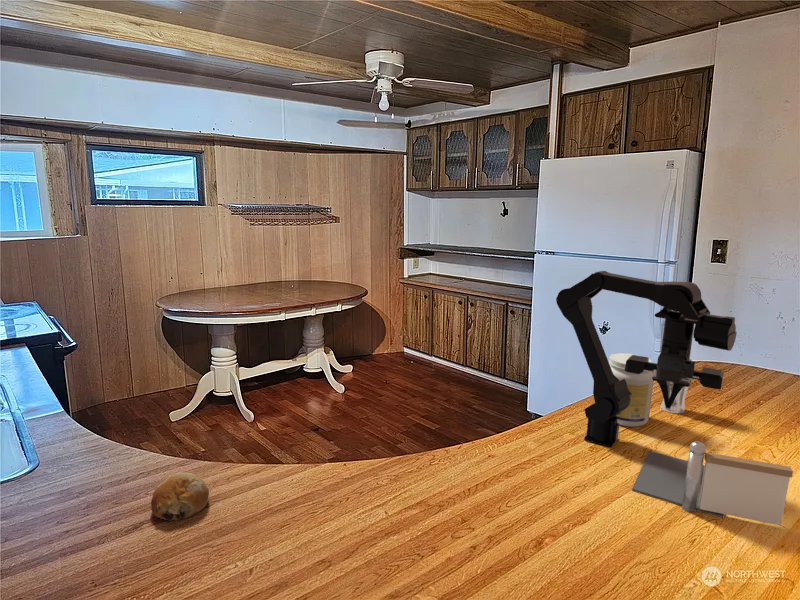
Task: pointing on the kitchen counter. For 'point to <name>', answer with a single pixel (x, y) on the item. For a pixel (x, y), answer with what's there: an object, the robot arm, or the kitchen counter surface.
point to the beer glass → (676, 401)
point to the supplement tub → (633, 391)
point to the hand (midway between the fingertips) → (668, 407)
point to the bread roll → (179, 496)
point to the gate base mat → (666, 479)
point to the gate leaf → (744, 488)
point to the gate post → (693, 476)
